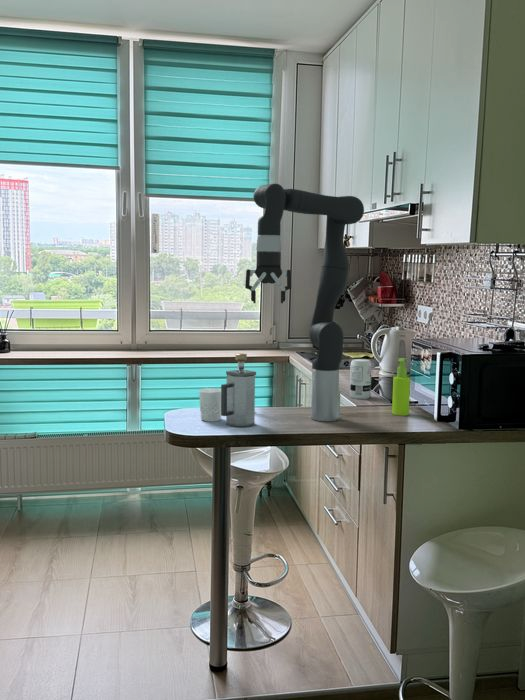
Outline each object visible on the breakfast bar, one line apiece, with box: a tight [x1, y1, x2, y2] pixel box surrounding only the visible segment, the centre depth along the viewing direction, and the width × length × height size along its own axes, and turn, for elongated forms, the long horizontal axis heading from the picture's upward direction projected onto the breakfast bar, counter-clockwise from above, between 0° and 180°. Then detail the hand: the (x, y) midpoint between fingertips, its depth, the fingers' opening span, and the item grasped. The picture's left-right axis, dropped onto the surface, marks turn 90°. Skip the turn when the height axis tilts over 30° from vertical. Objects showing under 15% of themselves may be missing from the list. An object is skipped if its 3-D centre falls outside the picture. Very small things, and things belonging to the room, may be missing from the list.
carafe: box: [220, 369, 257, 429], centre depth 217 cm, size 14×9×18 cm
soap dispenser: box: [391, 357, 411, 417], centre depth 236 cm, size 6×7×20 cm
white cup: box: [198, 387, 222, 422], centre depth 225 cm, size 8×8×10 cm
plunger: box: [235, 353, 248, 372], centre depth 217 cm, size 4×4×20 cm
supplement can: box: [349, 358, 373, 400], centre depth 266 cm, size 8×8×15 cm
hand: (268, 303), depth 208 cm, fingers open, 8 cm apart
